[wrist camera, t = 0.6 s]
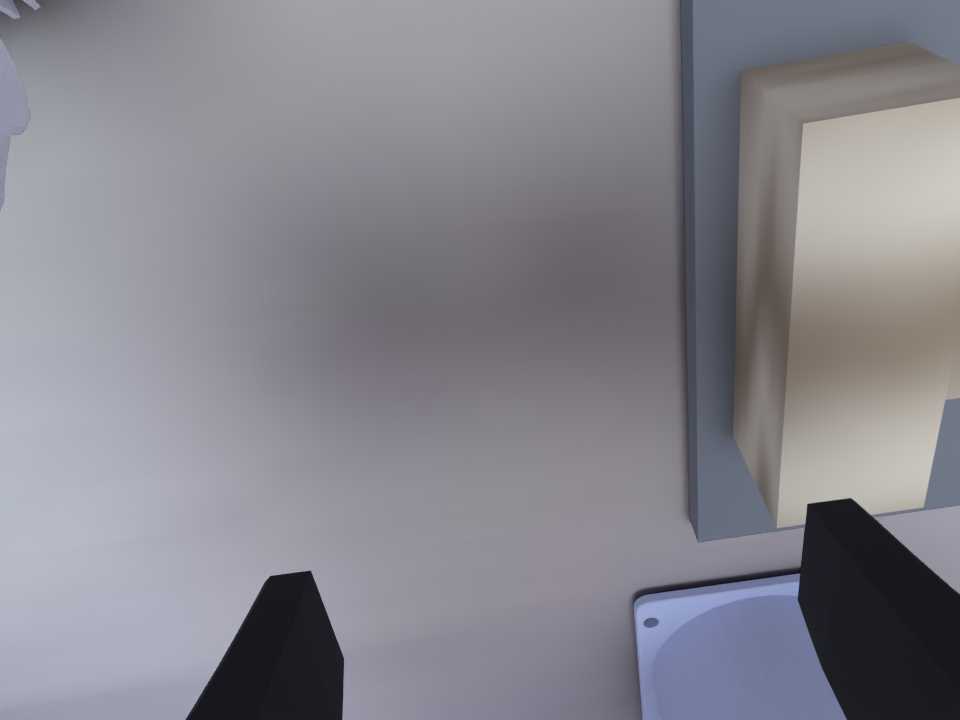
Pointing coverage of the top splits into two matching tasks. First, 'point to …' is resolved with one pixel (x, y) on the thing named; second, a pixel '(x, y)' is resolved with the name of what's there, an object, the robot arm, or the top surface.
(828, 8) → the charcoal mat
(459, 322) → the top surface
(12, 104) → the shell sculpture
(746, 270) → the maple T block
